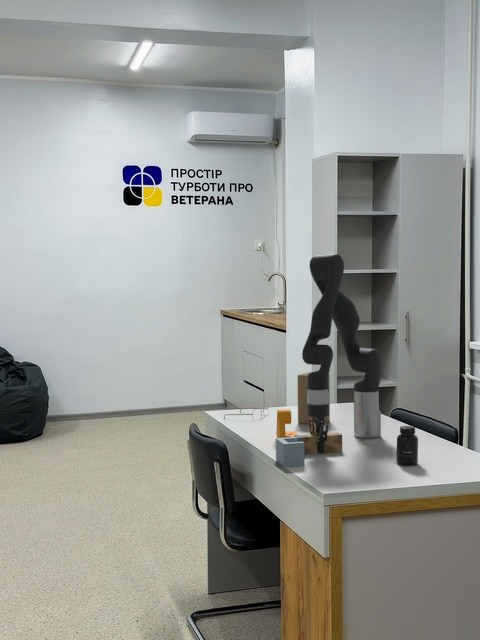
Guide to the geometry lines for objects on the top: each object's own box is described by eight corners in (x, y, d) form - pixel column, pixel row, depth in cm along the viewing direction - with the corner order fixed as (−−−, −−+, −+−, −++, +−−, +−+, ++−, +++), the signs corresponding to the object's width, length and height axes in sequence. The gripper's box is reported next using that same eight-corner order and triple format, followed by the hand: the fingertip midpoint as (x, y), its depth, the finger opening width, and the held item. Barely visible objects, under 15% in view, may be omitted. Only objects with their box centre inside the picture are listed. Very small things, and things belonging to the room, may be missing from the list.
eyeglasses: (255, 422, 341) (255, 410, 341) (223, 419, 347) (223, 408, 347) (270, 415, 355) (270, 404, 355) (240, 413, 362) (239, 402, 362)
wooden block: (330, 421, 338) (329, 373, 337) (319, 425, 329) (318, 376, 328) (308, 419, 343) (308, 372, 342) (297, 423, 335) (296, 374, 334)
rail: (338, 449, 286) (338, 432, 286) (342, 452, 282) (342, 434, 282) (294, 452, 282) (294, 435, 282) (298, 455, 278) (298, 437, 278)
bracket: (299, 444, 295) (299, 411, 295) (279, 445, 295) (279, 412, 294) (295, 438, 306) (295, 406, 305) (276, 438, 306) (276, 407, 305)
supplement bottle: (405, 467, 259) (405, 430, 259) (392, 462, 266) (392, 426, 265) (422, 464, 263) (422, 427, 262) (408, 460, 269) (408, 424, 268)
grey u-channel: (296, 459, 272) (295, 437, 272) (304, 465, 264) (304, 442, 263) (276, 460, 271) (275, 438, 270) (283, 466, 262) (283, 443, 262)
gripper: (335, 404, 275) (335, 454, 276) (321, 398, 289) (322, 446, 290) (314, 405, 273) (314, 456, 274) (301, 399, 287) (301, 447, 288)
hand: (318, 450), depth 282 cm, fingers closed on rail, 4 cm apart
